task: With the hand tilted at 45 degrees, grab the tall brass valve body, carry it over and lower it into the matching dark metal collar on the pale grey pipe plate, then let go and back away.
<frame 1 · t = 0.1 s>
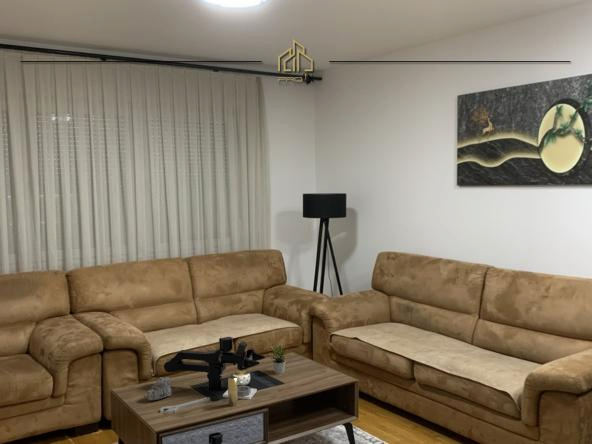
hand: (262, 360, 287), 17 cm above the table, tool horizontal, fingers open, 9 cm apart
pipe plate: (240, 394, 286), on the table
adjustable wrench: (186, 407, 271), on the table
mineral rock: (159, 398, 283), on the table
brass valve: (233, 404, 273), on the table
house plant: (278, 371, 318), on the table
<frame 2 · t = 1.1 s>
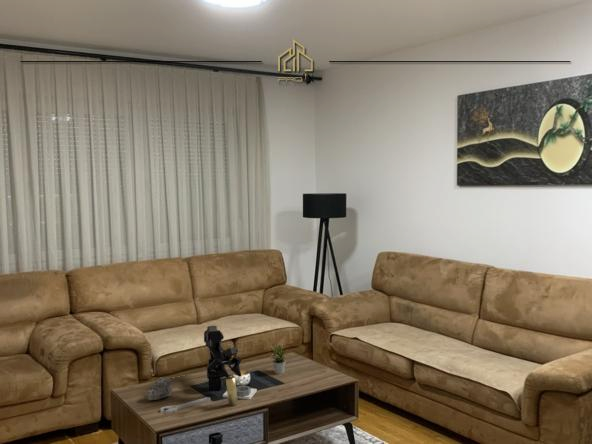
hand: (234, 377, 277), 11 cm above the table, tool tilted 50°, fingers open, 9 cm apart
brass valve: (233, 404, 273), on the table, tilted 6°
everything else where it was.
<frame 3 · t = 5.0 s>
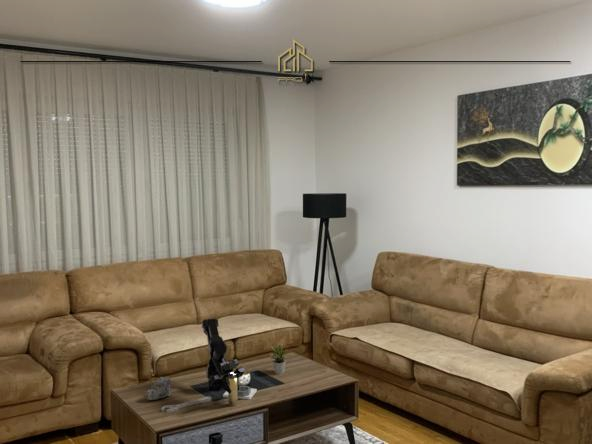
hand: (234, 391, 271), 7 cm above the table, tool tilted 45°, fingers closed on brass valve, 4 cm apart
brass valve: (233, 404, 273), on the table, touching gripper
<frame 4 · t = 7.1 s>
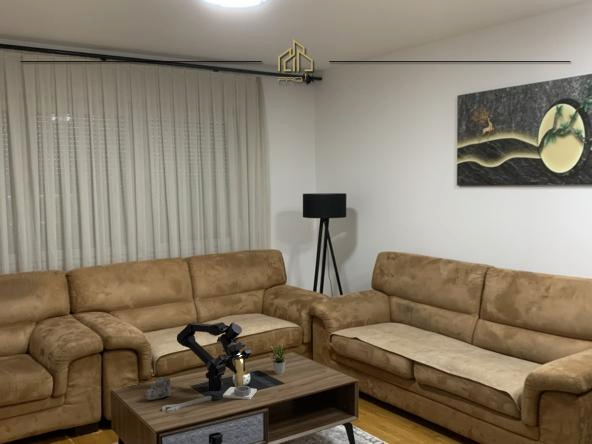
hand: (240, 372, 278), 13 cm above the table, tool tilted 45°, fingers closed on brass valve, 4 cm apart
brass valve: (239, 384, 280), point 7 cm above the table, touching gripper
when the fingers open (9 cm above the table, at t = 9.1 s): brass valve drops 1 cm, resting on pipe plate.
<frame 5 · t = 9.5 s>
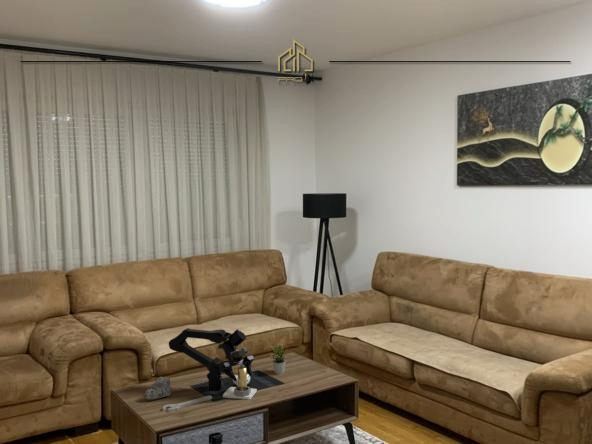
hand: (243, 378, 281), 9 cm above the table, tool tilted 45°, fingers open, 9 cm apart
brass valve: (242, 393, 283), point 1 cm above the table, touching pipe plate
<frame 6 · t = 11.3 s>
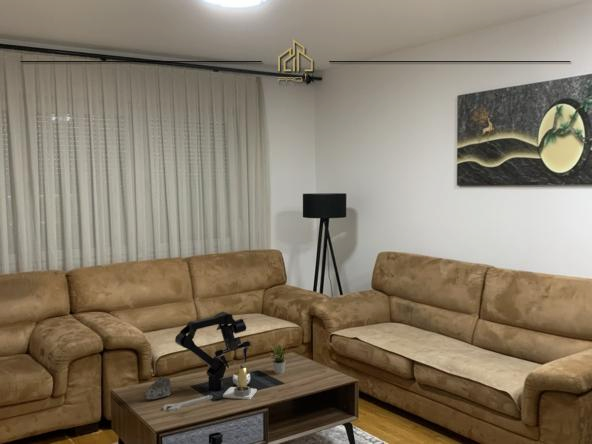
hand: (237, 365, 292), 12 cm above the table, tool tilted 25°, fingers open, 9 cm apart
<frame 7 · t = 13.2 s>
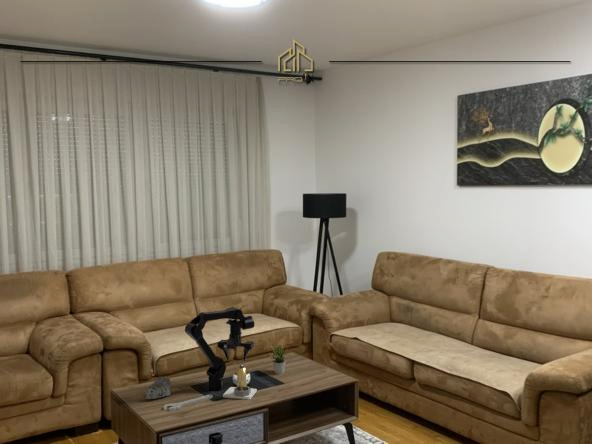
hand: (236, 360, 301), 12 cm above the table, tool pointing down, fingers open, 9 cm apart
at the end: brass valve 0.1 cm from the target spot on the pipe plate, point 1.2 cm above the pipe plate's base; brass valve tilted 1°; the gripper is holding nothing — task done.
